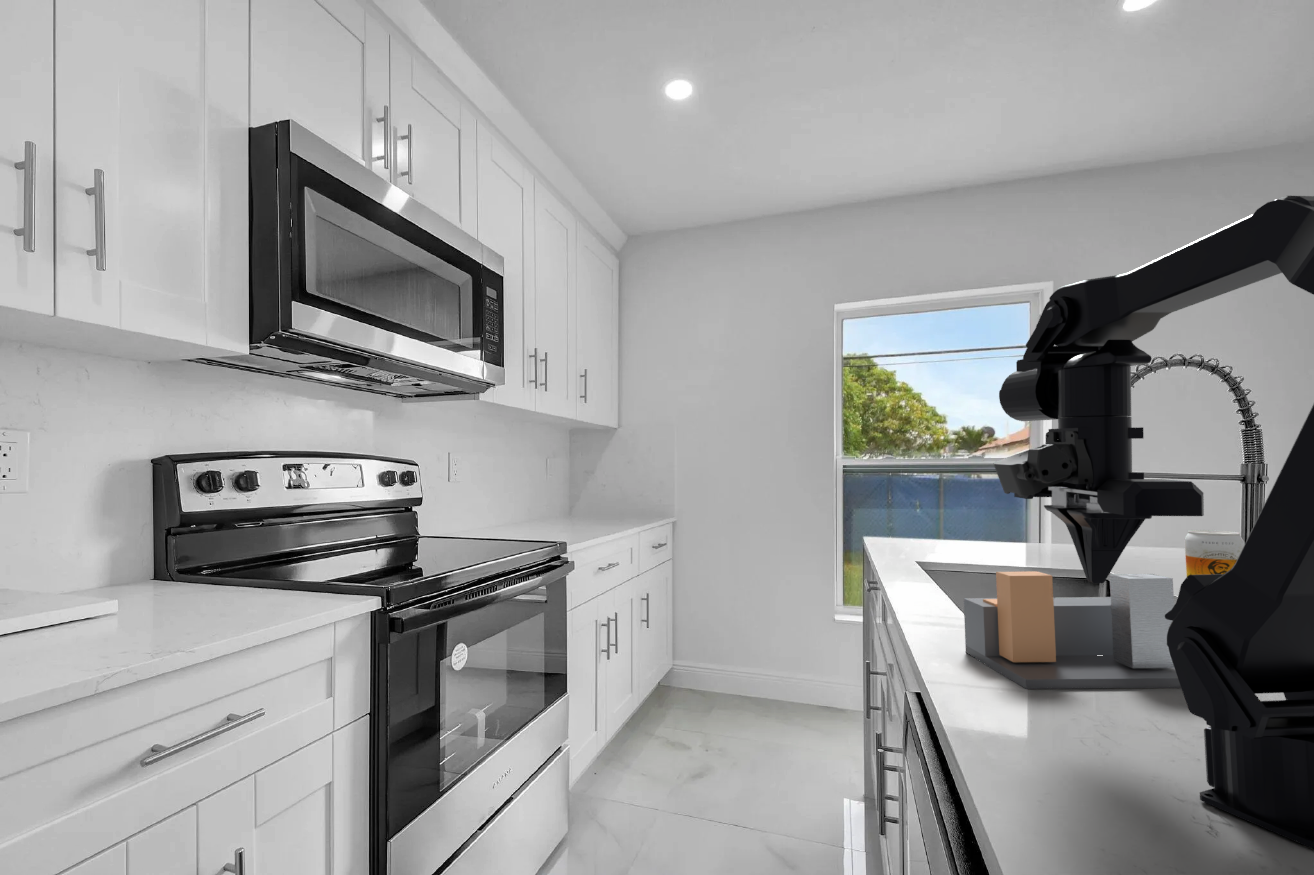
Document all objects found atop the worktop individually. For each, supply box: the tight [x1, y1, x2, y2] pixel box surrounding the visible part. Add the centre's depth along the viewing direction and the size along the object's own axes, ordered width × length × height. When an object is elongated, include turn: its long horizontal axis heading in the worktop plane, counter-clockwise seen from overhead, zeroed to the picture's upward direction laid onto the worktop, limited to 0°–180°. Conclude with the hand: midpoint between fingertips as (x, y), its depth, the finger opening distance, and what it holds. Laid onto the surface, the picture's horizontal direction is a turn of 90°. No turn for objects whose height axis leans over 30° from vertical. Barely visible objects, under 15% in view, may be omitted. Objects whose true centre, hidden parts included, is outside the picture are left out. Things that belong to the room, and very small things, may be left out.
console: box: [963, 596, 1182, 690], centre depth 75 cm, size 14×20×7 cm
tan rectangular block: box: [995, 570, 1056, 662], centre depth 75 cm, size 3×5×10 cm, turn 89°
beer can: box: [1184, 529, 1246, 577], centre depth 85 cm, size 6×6×15 cm
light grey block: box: [1108, 573, 1175, 668], centre depth 72 cm, size 3×5×10 cm, turn 89°
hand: (1095, 582), depth 59 cm, fingers closed
